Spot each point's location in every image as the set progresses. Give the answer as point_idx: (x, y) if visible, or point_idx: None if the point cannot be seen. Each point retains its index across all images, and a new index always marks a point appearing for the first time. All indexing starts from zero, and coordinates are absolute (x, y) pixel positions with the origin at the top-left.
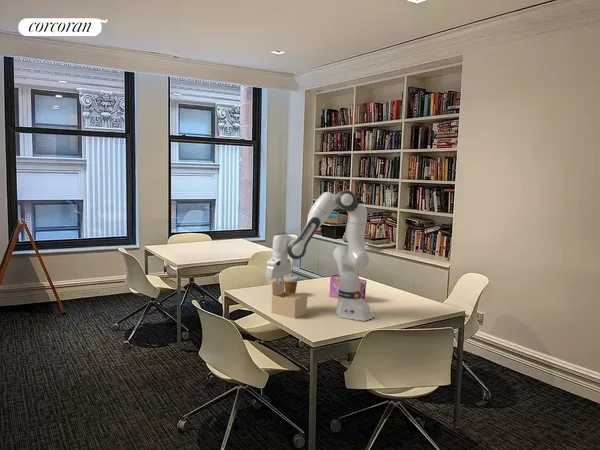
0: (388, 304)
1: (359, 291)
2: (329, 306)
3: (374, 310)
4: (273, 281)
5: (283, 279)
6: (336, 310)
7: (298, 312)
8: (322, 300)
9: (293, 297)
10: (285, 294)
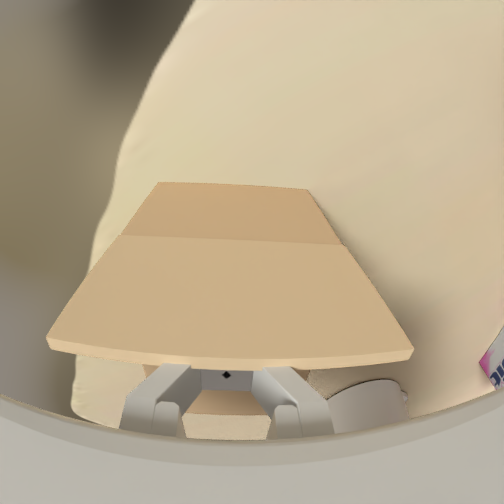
0: (471, 395)
1: (497, 387)
2: (431, 335)
3: (417, 411)
4: (88, 348)
5: (387, 356)
6: (346, 401)
7: None
8: (499, 273)
9: None
10: None
